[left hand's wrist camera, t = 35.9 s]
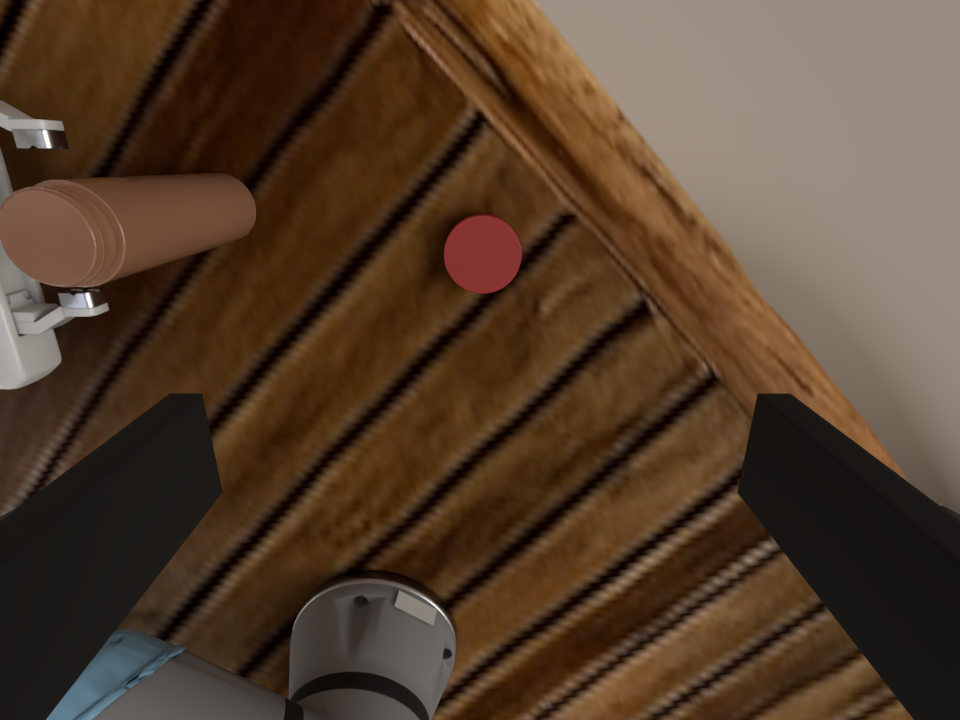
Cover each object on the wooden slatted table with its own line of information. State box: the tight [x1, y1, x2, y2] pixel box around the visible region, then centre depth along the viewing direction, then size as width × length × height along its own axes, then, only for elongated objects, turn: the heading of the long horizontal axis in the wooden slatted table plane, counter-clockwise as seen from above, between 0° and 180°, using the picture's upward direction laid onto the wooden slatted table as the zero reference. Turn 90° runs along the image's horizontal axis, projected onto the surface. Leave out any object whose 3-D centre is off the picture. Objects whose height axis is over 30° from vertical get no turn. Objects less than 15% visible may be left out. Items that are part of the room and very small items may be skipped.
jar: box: [0, 172, 256, 287], centre depth 29 cm, size 5×5×16 cm
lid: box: [444, 213, 521, 293], centre depth 37 cm, size 5×5×2 cm
